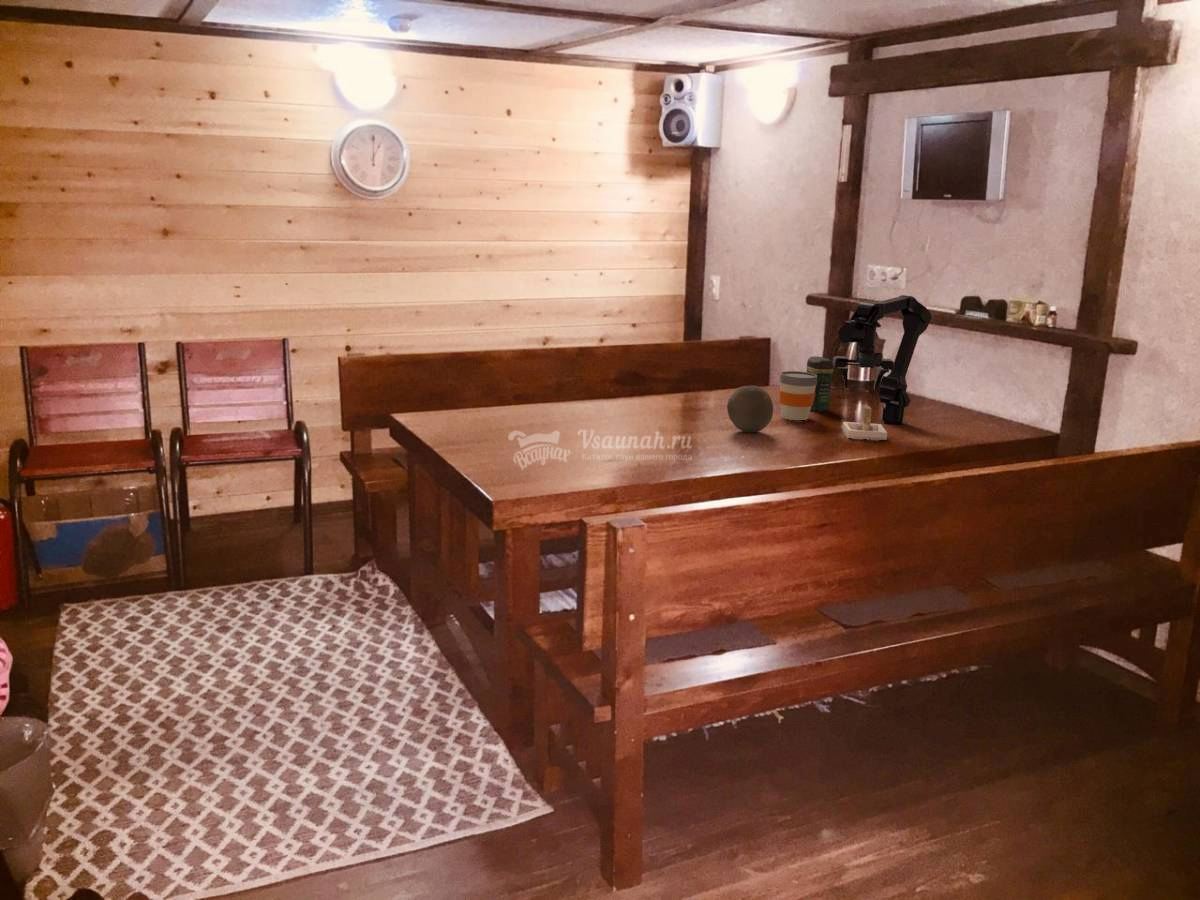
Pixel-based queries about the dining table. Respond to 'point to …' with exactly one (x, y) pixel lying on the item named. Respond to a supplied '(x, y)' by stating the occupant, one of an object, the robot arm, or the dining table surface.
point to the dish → (873, 434)
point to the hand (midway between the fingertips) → (860, 389)
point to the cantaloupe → (750, 408)
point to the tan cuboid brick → (865, 418)
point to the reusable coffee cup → (796, 394)
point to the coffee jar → (821, 381)
